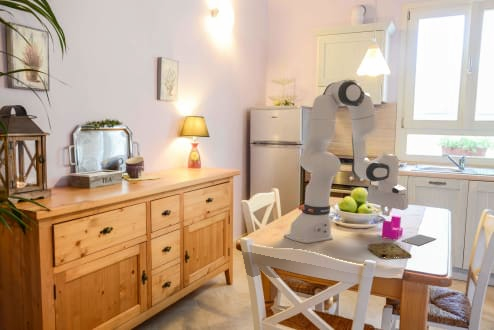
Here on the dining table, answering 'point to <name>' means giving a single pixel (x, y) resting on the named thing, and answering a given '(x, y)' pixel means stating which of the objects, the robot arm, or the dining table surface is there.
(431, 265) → the dining table surface
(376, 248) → the pastry
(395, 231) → the toy block
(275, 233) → the dining table surface
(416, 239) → the mat
